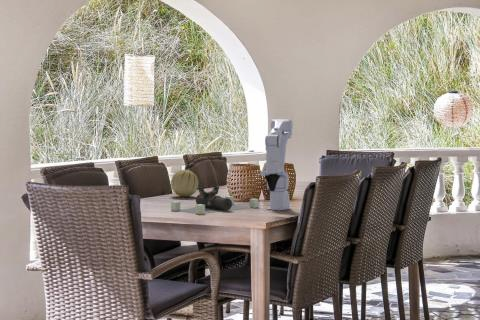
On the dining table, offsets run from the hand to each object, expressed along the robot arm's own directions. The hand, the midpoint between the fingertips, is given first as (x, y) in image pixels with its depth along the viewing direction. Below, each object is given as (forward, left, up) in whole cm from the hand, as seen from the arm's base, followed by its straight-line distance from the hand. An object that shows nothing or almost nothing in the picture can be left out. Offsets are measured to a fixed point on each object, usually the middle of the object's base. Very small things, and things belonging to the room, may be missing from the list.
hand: (272, 190), depth 373 cm
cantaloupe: (-21, -78, -11) cm, 81 cm away
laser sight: (+6, -31, -11) cm, 33 cm away
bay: (+6, -30, -10) cm, 32 cm away
